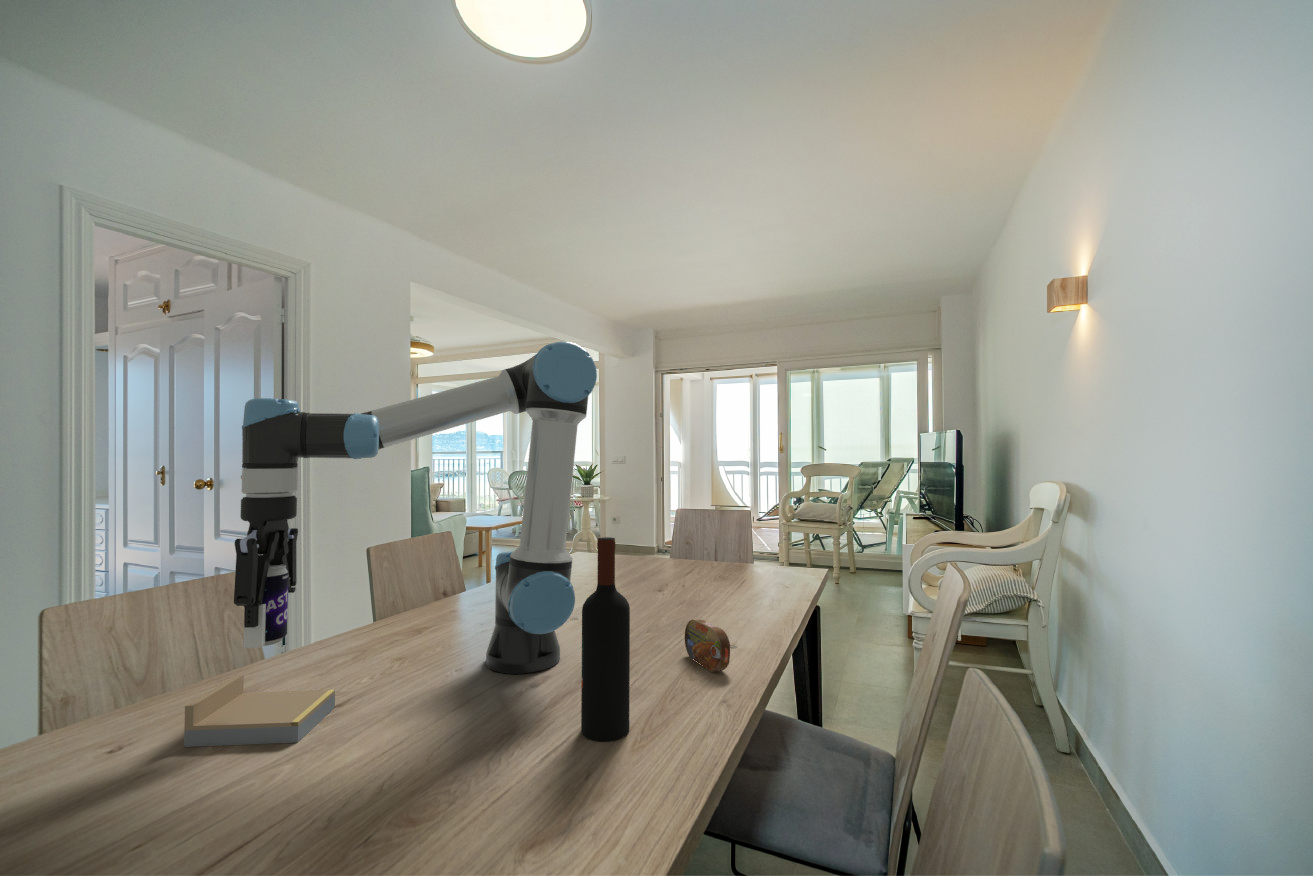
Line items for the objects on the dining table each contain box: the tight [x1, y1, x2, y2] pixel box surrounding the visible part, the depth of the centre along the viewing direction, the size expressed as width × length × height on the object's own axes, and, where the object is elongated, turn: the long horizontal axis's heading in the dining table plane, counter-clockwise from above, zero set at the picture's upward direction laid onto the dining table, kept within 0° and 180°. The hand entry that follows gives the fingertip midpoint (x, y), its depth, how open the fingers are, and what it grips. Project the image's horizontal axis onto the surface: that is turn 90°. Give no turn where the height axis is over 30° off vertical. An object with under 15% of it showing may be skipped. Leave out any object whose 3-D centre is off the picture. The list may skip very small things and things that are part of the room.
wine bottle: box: [580, 536, 631, 743], centre depth 92 cm, size 8×8×30 cm
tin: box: [684, 619, 731, 673], centre depth 120 cm, size 15×3×8 cm, turn 25°
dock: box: [183, 674, 336, 748], centre depth 93 cm, size 16×12×6 cm
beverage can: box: [262, 564, 289, 647], centre depth 93 cm, size 6×6×12 cm
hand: (266, 640), depth 93 cm, fingers closed on beverage can, 6 cm apart
